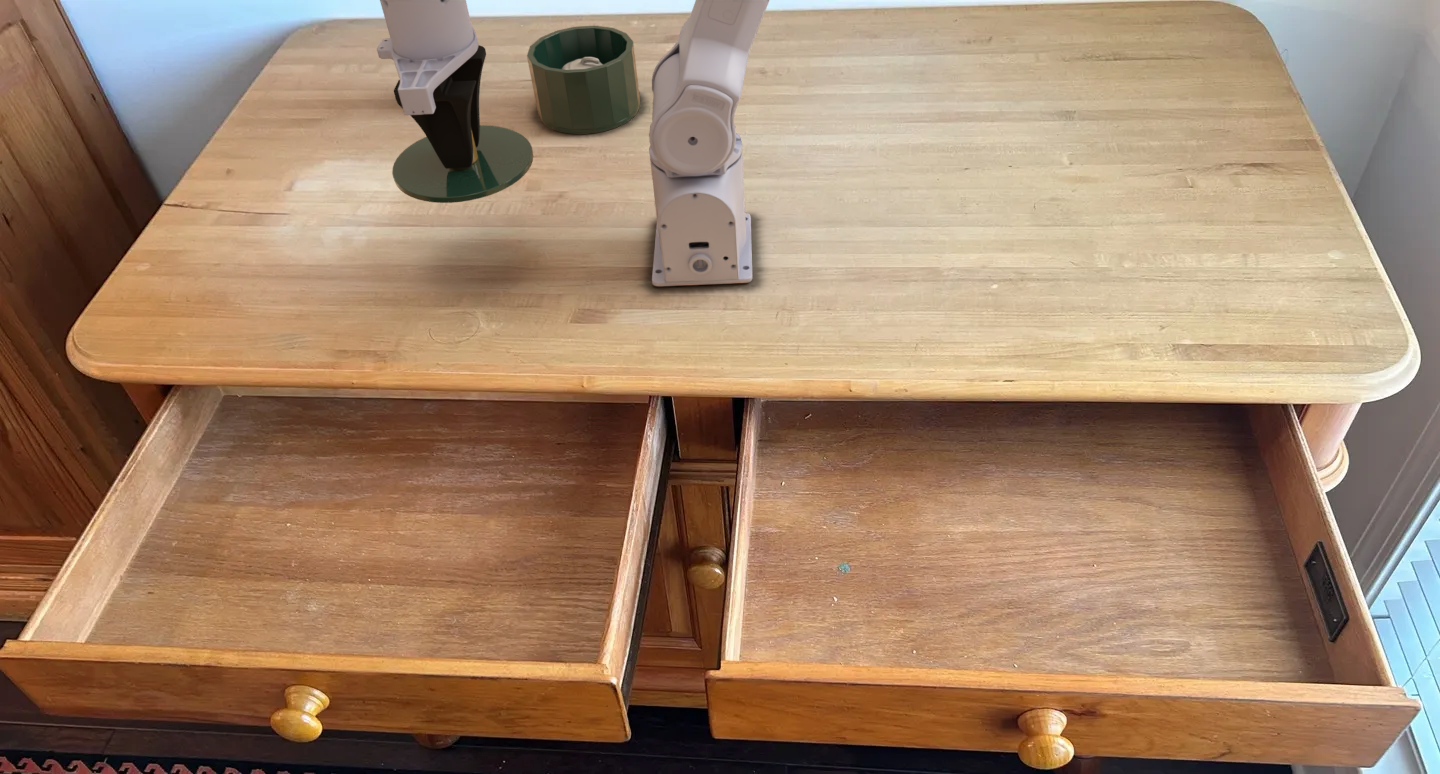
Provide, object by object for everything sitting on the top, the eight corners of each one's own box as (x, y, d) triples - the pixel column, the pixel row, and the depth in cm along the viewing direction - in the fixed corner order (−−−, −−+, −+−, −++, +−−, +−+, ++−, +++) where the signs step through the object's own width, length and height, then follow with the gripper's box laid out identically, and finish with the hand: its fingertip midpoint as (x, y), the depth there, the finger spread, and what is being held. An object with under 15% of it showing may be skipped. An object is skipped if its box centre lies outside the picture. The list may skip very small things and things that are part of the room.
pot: (636, 131, 103) (628, 69, 98) (532, 136, 103) (520, 74, 99) (642, 83, 110) (635, 23, 106) (545, 88, 111) (535, 28, 106)
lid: (525, 206, 78) (513, 151, 75) (381, 213, 78) (363, 159, 75) (542, 133, 86) (532, 81, 83) (412, 140, 86) (397, 88, 83)
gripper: (385, -56, 78) (429, 112, 87) (332, 28, 67) (389, 209, 76) (479, -61, 77) (514, 108, 87) (441, 21, 67) (486, 204, 76)
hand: (462, 155), depth 81 cm, fingers closed on lid, 2 cm apart
